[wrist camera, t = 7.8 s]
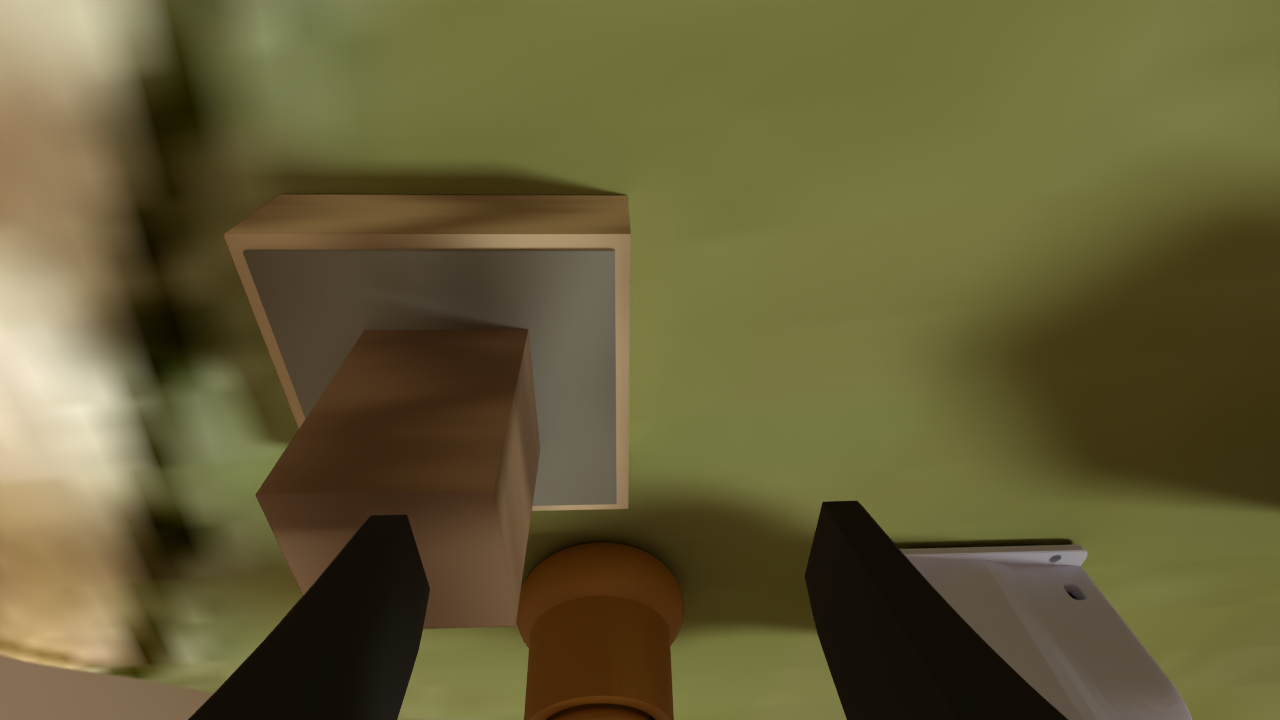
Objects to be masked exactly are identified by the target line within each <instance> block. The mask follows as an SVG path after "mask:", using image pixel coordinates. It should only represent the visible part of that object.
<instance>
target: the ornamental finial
mask: <svg viewBox="0 0 1280 720" xmlns="http://www.w3.org/2000/svg"><path fill="white" fill-rule="evenodd" d="M683 614H684V604H683V597H682V592H681V590H680V587H679V584H678V582H677V580H676V579H675V577H674V575H673V574H672V573H671V571H670V570H669V569H668V568H667V567H666V566H665V565H664V564H663V563H662V562H661V561H659V560H658V559H657V558H655V557H654V556H652V555H651V554H649V553H647V552H645V551H643V550H640V549H638V548H635V547H632V546H628V545H624V544H618V543H608V542H596V543H586V544H580V545H576V546H572V547H569V548H566V549H563V550H561V551H559V552H557V553H555V554H553V555H551V556H549V557H548V558H546V559H545V560H544V561H542V562H541V563H540V564H539V565H538V566H537V567H536V568H535V569H534V570H533V571H532V572H531V573H530V574H529V576H528V577H527V578H526V580H525V582H524V584H523V585H522V587H521V591H520V598H519V606H518V613H517V625H518V629H519V632H520V634H521V636H522V638H523V640H524V642H525V643H526V645H527V646H528V648H529V658H528V672H527V686H526V700H525V714H524V720H674V717H673V696H672V675H671V653H670V646H671V644H672V643H673V642H674V640H675V638H676V637H677V635H678V633H679V630H680V628H681V624H682V620H683Z"/></svg>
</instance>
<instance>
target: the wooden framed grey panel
mask: <svg viewBox="0 0 1280 720" xmlns="http://www.w3.org/2000/svg"><path fill="white" fill-rule="evenodd" d="M223 235H224V238H225V240H226V243H227V246H228V248H229V251H230V253H231V256H232V258H233V261H234V264H235V266H236V269H237V271H238V274H239V276H240V279H241V282H242V284H243V287H244V289H245V292H246V294H247V297H248V300H249V302H250V305H251V307H252V310H253V312H254V315H255V318H256V320H257V323H258V325H259V328H260V330H261V333H262V336H263V338H264V341H265V343H266V346H267V348H268V351H269V354H270V356H271V359H272V361H273V364H274V366H275V369H276V371H277V374H278V377H279V379H280V382H281V384H282V387H283V389H284V392H285V395H286V397H287V400H288V402H289V405H290V407H291V410H292V413H293V415H294V418H295V420H296V423H297V425H298V428H300V427H301V425H302V424H303V422H304V421H305V419H306V418H307V416H308V415H309V413H310V412H311V410H312V409H313V407H314V406H315V404H316V403H317V401H318V400H319V398H320V397H321V395H322V394H323V392H324V390H325V389H326V387H327V386H328V384H329V383H330V381H331V380H332V378H333V377H334V375H335V374H336V372H337V371H338V369H339V368H340V366H341V365H342V363H343V362H344V360H345V359H346V357H347V356H348V354H349V353H350V351H351V350H352V348H353V347H354V345H355V344H356V342H357V341H358V339H359V338H360V336H361V335H362V333H363V332H364V330H482V329H529V339H530V349H531V359H532V369H533V380H534V390H535V400H536V411H537V421H538V431H539V442H540V455H539V463H538V470H537V477H536V484H535V491H534V498H533V505H532V511H546V510H593V509H628V481H629V369H630V256H631V232H630V219H629V207H628V196H619V195H278V196H276V197H275V198H274V199H272V200H271V201H269V202H268V203H267V204H265V205H264V206H262V207H261V208H260V209H258V210H257V211H255V212H254V213H252V214H251V215H250V216H248V217H247V218H245V219H244V220H243V221H241V222H240V223H238V224H237V225H236V226H234V227H233V228H231V229H230V230H229V231H227V232H226V233H224V234H223Z"/></svg>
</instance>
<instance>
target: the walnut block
mask: <svg viewBox="0 0 1280 720" xmlns="http://www.w3.org/2000/svg"><path fill="white" fill-rule="evenodd" d="M539 455H540V442H539V431H538V421H537V411H536V400H535V390H534V380H533V369H532V359H531V349H530V339H529V329H482V330H364V332H363V333H362V335H361V336H360V338H359V339H358V341H357V342H356V344H355V345H354V347H353V348H352V350H351V351H350V353H349V354H348V356H347V357H346V359H345V360H344V362H343V363H342V365H341V366H340V368H339V369H338V371H337V372H336V374H335V375H334V377H333V378H332V380H331V381H330V383H329V384H328V386H327V387H326V389H325V390H324V392H323V394H322V395H321V397H320V398H319V400H318V401H317V403H316V404H315V406H314V407H313V409H312V410H311V412H310V413H309V415H308V416H307V418H306V419H305V421H304V422H303V424H302V425H301V427H300V428H299V430H298V431H297V433H296V434H295V436H294V437H293V439H292V440H291V442H290V443H289V445H288V446H287V448H286V449H285V451H284V452H283V454H282V455H281V457H280V459H279V460H278V462H277V463H276V465H275V466H274V468H273V469H272V471H271V472H270V474H269V475H268V477H267V478H266V480H265V481H264V483H263V484H262V486H261V487H260V489H259V490H258V492H257V493H256V497H257V499H258V501H259V504H260V506H261V508H262V510H263V512H264V514H265V516H266V518H267V520H268V522H269V525H270V527H271V529H272V531H273V533H274V535H275V537H276V539H277V541H278V543H279V546H280V548H281V550H282V552H283V554H284V556H285V558H286V560H287V562H288V564H289V567H290V569H291V571H292V573H293V575H294V577H295V579H296V581H297V583H298V585H299V588H300V590H301V592H302V594H303V595H304V594H305V593H306V592H307V591H308V590H309V588H310V587H311V586H312V585H313V584H314V583H315V581H316V580H317V579H318V578H319V577H320V575H321V574H322V573H323V572H324V571H325V569H326V568H327V567H328V566H329V565H330V563H331V562H332V561H333V560H334V559H335V557H336V556H337V555H338V554H339V553H340V551H341V550H342V549H343V548H344V546H345V545H346V544H347V543H348V542H349V540H350V539H351V538H352V537H353V536H354V534H355V533H356V532H357V531H358V529H359V528H360V527H361V526H362V525H363V523H364V522H365V521H366V520H367V519H368V518H369V517H370V516H371V515H404V514H407V516H408V519H409V522H410V525H411V529H412V532H413V535H414V538H415V542H416V545H417V548H418V551H419V555H420V558H421V561H422V564H423V567H424V571H425V574H426V577H427V580H428V584H429V587H430V593H429V599H428V604H427V610H426V615H425V621H424V626H423V629H434V628H469V627H504V626H516V620H517V613H518V606H519V598H520V591H521V584H522V577H523V570H524V563H525V556H526V548H527V541H528V534H529V527H530V520H531V513H532V505H533V498H534V491H535V484H536V477H537V470H538V463H539Z"/></svg>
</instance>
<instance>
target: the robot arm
mask: <svg viewBox="0 0 1280 720" xmlns="http://www.w3.org/2000/svg"><path fill="white" fill-rule="evenodd" d="M1086 557H1087V552H1086V551H1085V549H1084V548H1083V547H1082V546H1080V545H1037V546H997V547H957V548H917V549H899V548H898V547H897V546H896V545H895V543H894V542H893V541H892V540H891V539H890V538H889V537H888V535H887V534H886V533H885V532H884V531H883V530H882V528H881V527H880V526H879V525H878V524H877V523H876V521H875V520H874V519H873V518H872V517H871V516H870V514H869V513H868V512H867V511H866V510H865V509H864V507H863V506H862V505H861V504H860V503H859V502H858V501H834V502H823V503H822V507H821V511H820V515H819V519H818V524H817V528H816V532H815V536H814V540H813V544H812V548H811V552H810V557H809V561H808V565H807V569H806V573H805V580H806V584H807V589H808V594H809V598H810V603H811V608H812V612H813V616H814V621H815V625H816V629H817V633H818V637H819V640H820V643H821V646H822V649H823V652H824V654H825V657H826V660H827V663H828V666H829V669H830V672H831V675H832V678H833V681H834V684H835V687H836V689H837V692H838V695H839V698H840V701H841V704H842V707H843V710H844V712H845V715H846V718H847V720H1193V719H1192V717H1191V715H1190V713H1189V711H1188V708H1187V706H1186V704H1185V703H1184V701H1183V699H1182V697H1181V696H1180V694H1179V692H1178V691H1177V689H1176V688H1175V687H1174V685H1173V684H1172V682H1171V681H1170V680H1169V678H1168V677H1167V676H1166V674H1165V673H1164V672H1163V671H1162V669H1161V668H1160V667H1159V665H1158V664H1157V663H1156V662H1155V660H1154V659H1153V658H1152V656H1151V655H1150V654H1149V653H1148V651H1147V650H1146V649H1145V647H1144V646H1143V645H1142V644H1141V642H1140V641H1139V640H1138V638H1137V637H1136V636H1135V635H1134V633H1133V632H1132V631H1131V630H1130V628H1129V627H1128V626H1127V624H1126V623H1125V622H1124V621H1123V619H1122V618H1121V617H1120V615H1119V614H1118V613H1117V612H1116V610H1115V609H1114V608H1113V606H1112V605H1111V604H1110V603H1109V601H1108V600H1107V599H1106V597H1105V596H1104V595H1103V594H1102V592H1101V591H1100V590H1099V589H1098V587H1097V586H1096V585H1095V583H1094V582H1093V581H1092V580H1091V578H1090V577H1089V576H1088V574H1087V573H1086V572H1085V571H1084V569H1083V568H1082V567H1081V565H1082V564H1083V562H1084V560H1085V559H1086ZM429 593H430V587H429V584H428V580H427V577H426V574H425V571H424V567H423V564H422V561H421V558H420V555H419V551H418V548H417V545H416V542H415V538H414V535H413V532H412V529H411V525H410V522H409V519H408V516H407V514H404V515H371V516H370V517H369V518H368V519H367V520H366V521H365V522H364V523H363V525H362V526H361V527H360V528H359V529H358V531H357V532H356V533H355V534H354V536H353V537H352V538H351V539H350V540H349V542H348V543H347V544H346V545H345V546H344V548H343V549H342V550H341V551H340V553H339V554H338V555H337V556H336V557H335V559H334V560H333V561H332V562H331V563H330V565H329V566H328V567H327V568H326V569H325V571H324V572H323V573H322V574H321V575H320V577H319V578H318V579H317V580H316V581H315V583H314V584H313V585H312V586H311V587H310V588H309V590H308V591H307V592H306V593H305V594H304V595H303V597H302V598H301V599H300V600H299V601H298V602H297V603H296V605H295V606H294V607H293V608H292V609H291V610H290V611H289V613H288V614H287V615H286V616H285V617H284V618H283V619H282V621H281V622H280V623H279V624H278V625H277V626H276V627H275V629H274V630H273V631H272V632H271V633H270V634H269V635H268V636H267V638H266V639H265V640H264V641H263V642H262V643H261V644H260V645H259V646H258V647H257V648H256V650H255V651H254V652H253V653H252V654H251V655H250V656H249V657H248V658H247V659H246V660H245V661H244V662H243V663H242V664H241V665H240V667H239V668H238V669H237V670H236V671H235V672H234V673H233V674H232V675H231V676H230V677H229V678H228V679H227V680H226V681H225V682H224V684H223V685H222V686H221V687H220V688H219V689H218V690H217V691H216V692H215V693H214V694H213V695H212V696H211V697H210V698H209V699H208V700H207V701H206V702H205V703H204V704H203V705H202V706H201V707H200V708H199V709H198V710H197V711H196V712H195V713H194V714H193V715H192V716H191V717H190V718H189V719H188V720H397V718H398V715H399V712H400V709H401V705H402V702H403V699H404V696H405V693H406V689H407V686H408V683H409V680H410V676H411V673H412V670H413V667H414V663H415V660H416V657H417V653H418V650H419V645H420V640H421V636H422V631H423V626H424V621H425V615H426V610H427V604H428V599H429Z"/></svg>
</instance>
